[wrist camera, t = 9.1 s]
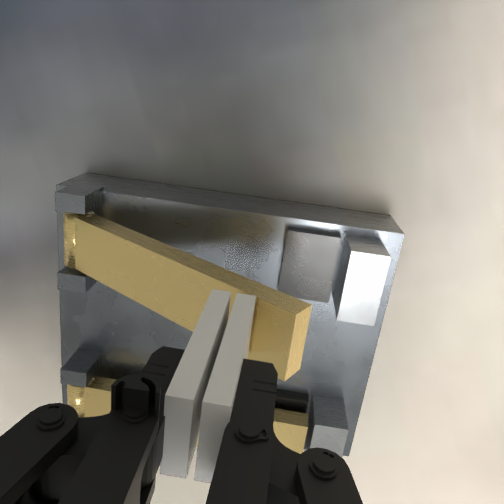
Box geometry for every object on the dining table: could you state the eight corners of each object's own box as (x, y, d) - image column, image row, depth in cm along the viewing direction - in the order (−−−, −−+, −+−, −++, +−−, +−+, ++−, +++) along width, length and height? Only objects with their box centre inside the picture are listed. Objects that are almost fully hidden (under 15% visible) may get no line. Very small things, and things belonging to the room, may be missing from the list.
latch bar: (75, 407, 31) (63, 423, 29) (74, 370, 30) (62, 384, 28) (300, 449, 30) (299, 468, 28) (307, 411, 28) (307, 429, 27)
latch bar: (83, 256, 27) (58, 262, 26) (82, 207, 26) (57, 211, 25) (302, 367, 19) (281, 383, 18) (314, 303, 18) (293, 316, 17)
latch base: (87, 379, 35) (42, 442, 29) (86, 168, 30) (29, 189, 23) (342, 419, 35) (352, 494, 28) (391, 210, 29) (418, 245, 23)
